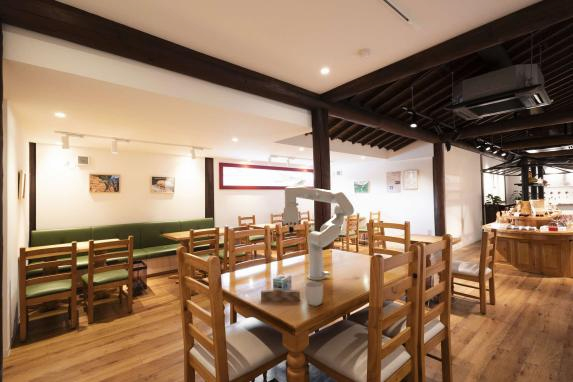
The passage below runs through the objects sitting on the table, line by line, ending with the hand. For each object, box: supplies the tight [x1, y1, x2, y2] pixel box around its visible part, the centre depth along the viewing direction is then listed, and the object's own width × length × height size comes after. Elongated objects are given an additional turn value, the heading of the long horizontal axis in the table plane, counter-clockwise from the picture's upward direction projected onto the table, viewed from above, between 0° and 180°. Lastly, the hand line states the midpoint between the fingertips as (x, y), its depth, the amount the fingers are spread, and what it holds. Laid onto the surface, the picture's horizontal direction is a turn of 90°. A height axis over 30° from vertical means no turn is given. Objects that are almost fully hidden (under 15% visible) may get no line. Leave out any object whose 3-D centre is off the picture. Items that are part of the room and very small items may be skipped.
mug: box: [305, 281, 324, 306], centre depth 143 cm, size 13×9×10 cm
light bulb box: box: [272, 273, 293, 290], centre depth 153 cm, size 11×7×11 cm, turn 152°
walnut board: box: [260, 289, 301, 302], centre depth 146 cm, size 21×2×5 cm, turn 86°
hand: (291, 232), depth 178 cm, fingers closed
